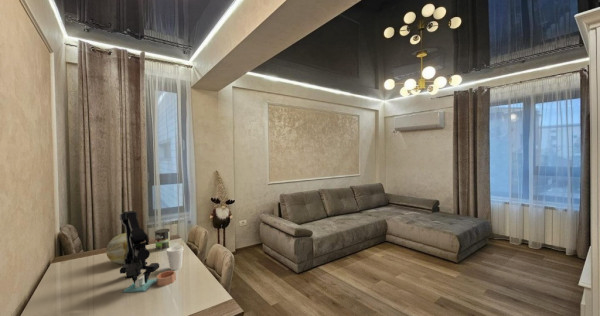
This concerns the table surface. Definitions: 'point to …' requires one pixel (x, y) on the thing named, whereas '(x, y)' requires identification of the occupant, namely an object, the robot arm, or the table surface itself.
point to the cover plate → (145, 286)
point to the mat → (140, 291)
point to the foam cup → (175, 257)
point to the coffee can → (162, 239)
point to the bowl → (165, 278)
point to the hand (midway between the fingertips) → (140, 283)
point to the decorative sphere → (117, 249)
